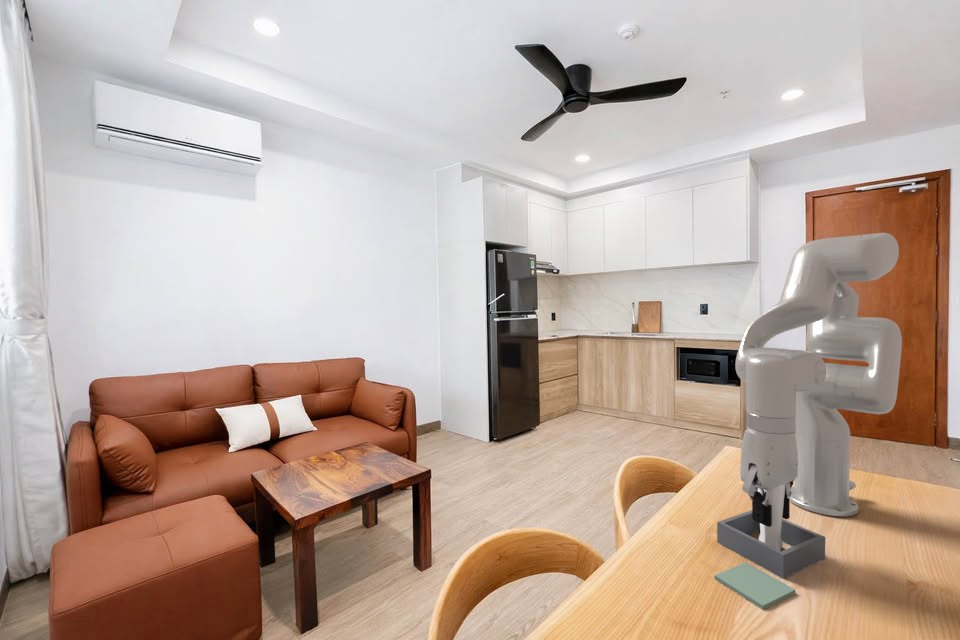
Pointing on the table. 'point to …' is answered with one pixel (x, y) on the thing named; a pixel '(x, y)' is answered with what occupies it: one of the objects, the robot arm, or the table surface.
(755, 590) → the mat
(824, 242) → the robot arm
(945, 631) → the table surface
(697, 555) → the table surface
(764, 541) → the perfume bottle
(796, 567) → the bin
